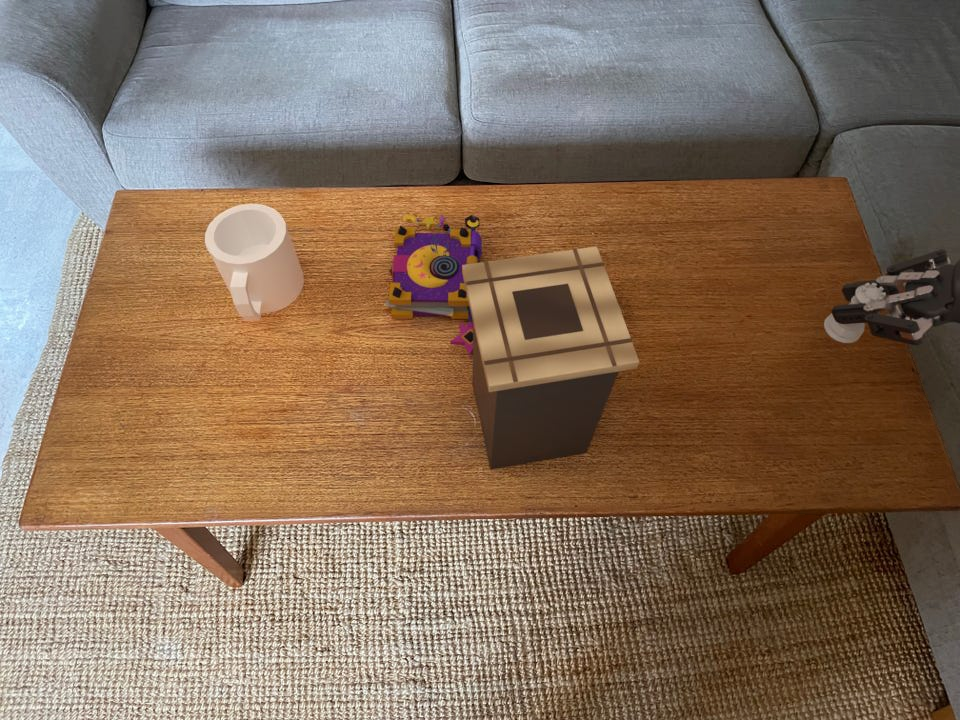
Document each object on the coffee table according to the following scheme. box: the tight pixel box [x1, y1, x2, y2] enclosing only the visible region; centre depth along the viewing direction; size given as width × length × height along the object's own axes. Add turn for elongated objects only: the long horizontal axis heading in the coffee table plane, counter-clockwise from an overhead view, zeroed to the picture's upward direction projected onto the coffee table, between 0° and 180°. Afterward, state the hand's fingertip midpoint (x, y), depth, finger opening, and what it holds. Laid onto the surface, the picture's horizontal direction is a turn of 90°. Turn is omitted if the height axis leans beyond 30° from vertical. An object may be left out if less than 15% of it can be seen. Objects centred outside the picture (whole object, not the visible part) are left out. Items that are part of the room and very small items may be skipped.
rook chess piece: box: [823, 283, 886, 344], centre depth 78 cm, size 4×4×8 cm
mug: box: [204, 203, 305, 322], centre depth 86 cm, size 14×10×11 cm
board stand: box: [472, 323, 620, 470], centre depth 72 cm, size 12×12×22 cm
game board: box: [462, 246, 640, 392], centre depth 62 cm, size 14×14×1 cm
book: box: [382, 214, 483, 358], centre depth 87 cm, size 15×25×12 cm, turn 0°
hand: (840, 304), depth 78 cm, fingers closed on rook chess piece, 3 cm apart
